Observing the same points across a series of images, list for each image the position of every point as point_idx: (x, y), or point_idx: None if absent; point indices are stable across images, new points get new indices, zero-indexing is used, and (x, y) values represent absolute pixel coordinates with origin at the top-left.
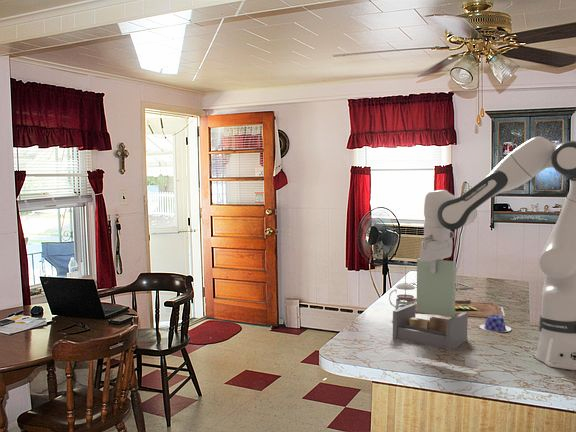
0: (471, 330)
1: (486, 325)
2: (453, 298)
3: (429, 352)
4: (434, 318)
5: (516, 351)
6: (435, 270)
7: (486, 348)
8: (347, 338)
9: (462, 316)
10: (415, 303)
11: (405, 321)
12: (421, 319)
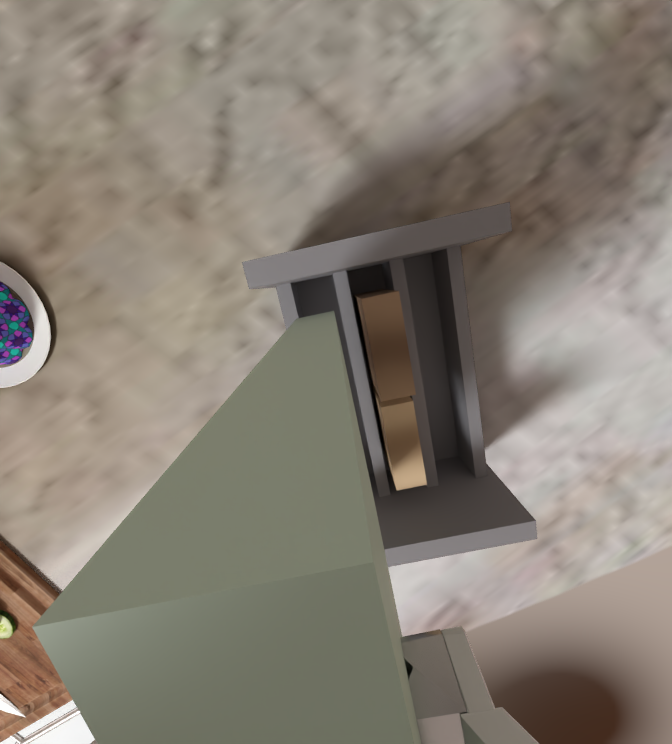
0: (100, 370)
1: (11, 346)
2: (319, 327)
3: (479, 298)
4: (402, 375)
5: (187, 57)
6: (464, 660)
7: (260, 178)
8: (546, 568)
9: (324, 244)
10: (11, 705)
11: (418, 496)
12: (397, 443)
